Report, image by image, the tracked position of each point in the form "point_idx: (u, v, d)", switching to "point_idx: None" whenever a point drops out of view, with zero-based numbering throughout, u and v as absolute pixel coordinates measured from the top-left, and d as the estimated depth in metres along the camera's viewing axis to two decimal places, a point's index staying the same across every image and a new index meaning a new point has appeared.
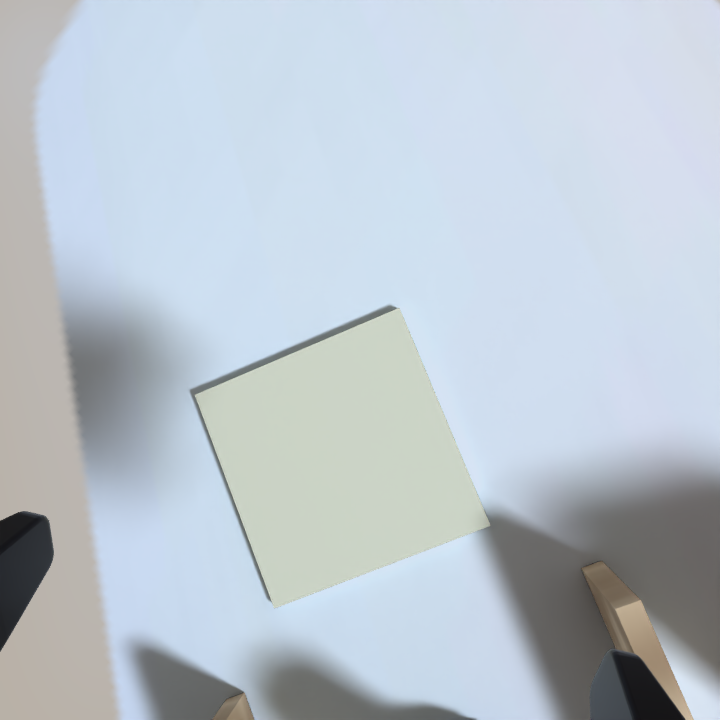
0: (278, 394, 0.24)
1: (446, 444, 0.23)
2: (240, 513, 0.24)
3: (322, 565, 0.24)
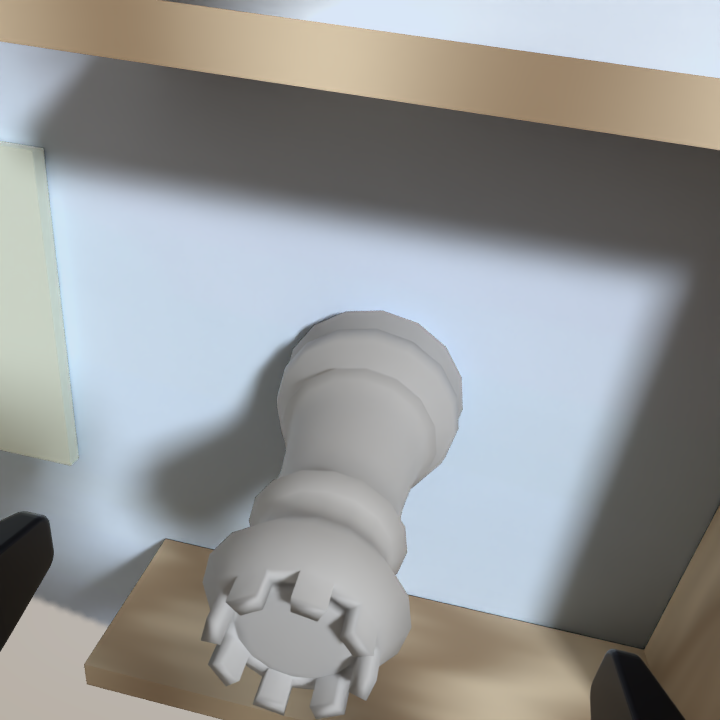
0: None
1: None
2: None
3: (33, 390, 0.17)
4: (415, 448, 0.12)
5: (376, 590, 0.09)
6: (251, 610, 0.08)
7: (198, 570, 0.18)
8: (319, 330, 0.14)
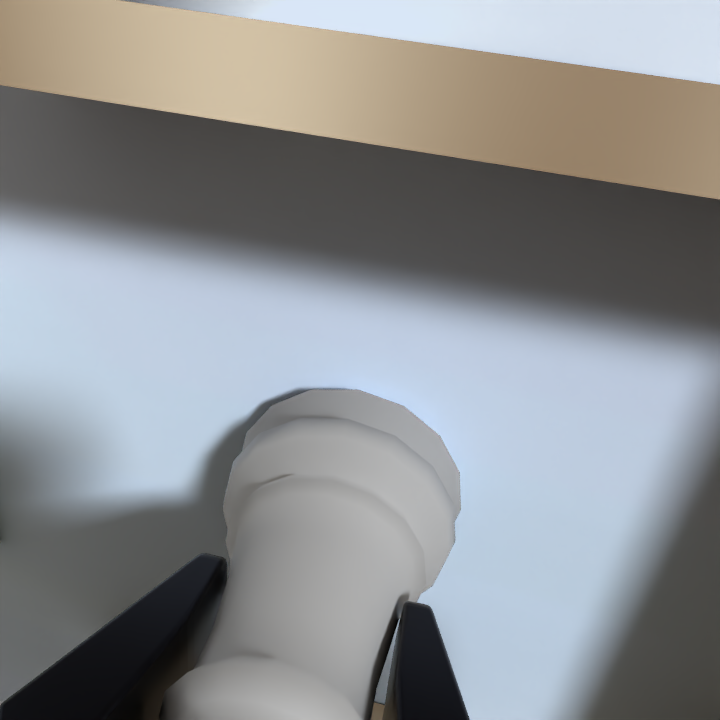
0: None
1: None
2: None
3: None
4: (396, 589, 0.09)
5: None
6: None
7: None
8: (278, 412, 0.11)
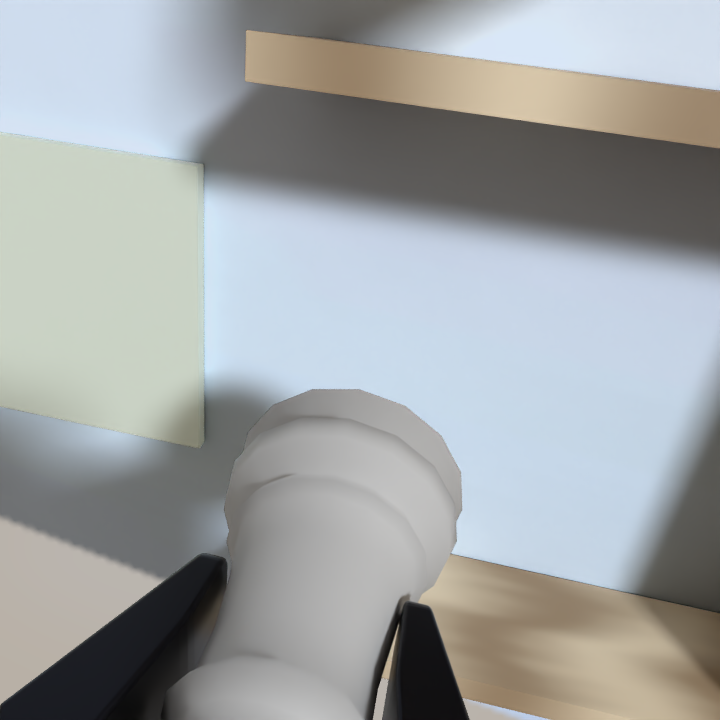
0: None
1: (76, 161, 0.16)
2: (89, 423, 0.20)
3: (172, 379, 0.19)
4: (397, 589, 0.09)
5: None
6: None
7: None
8: (279, 412, 0.11)
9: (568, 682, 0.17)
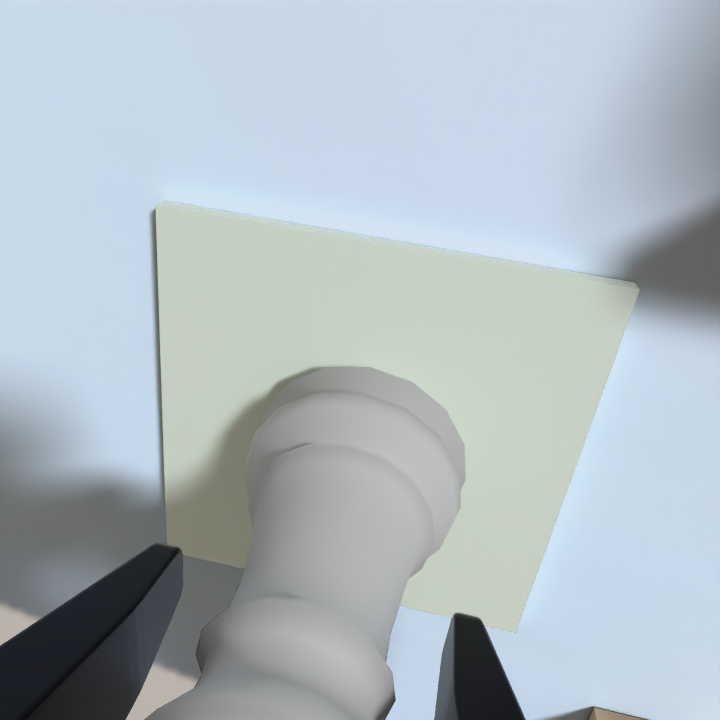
0: (217, 461, 0.14)
1: (443, 275, 0.11)
2: None
3: (502, 552, 0.14)
4: (407, 546, 0.10)
5: None
6: None
7: None
8: (295, 389, 0.12)
9: None
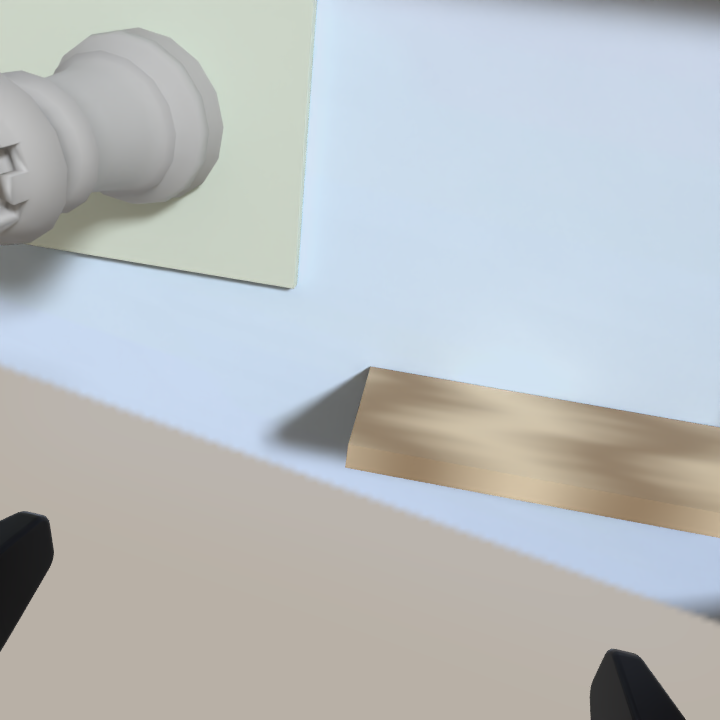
0: None
1: None
2: (175, 267, 0.19)
3: (270, 208, 0.18)
4: (141, 111, 0.14)
5: (17, 112, 0.10)
6: None
7: (412, 387, 0.20)
8: None
9: (698, 494, 0.16)
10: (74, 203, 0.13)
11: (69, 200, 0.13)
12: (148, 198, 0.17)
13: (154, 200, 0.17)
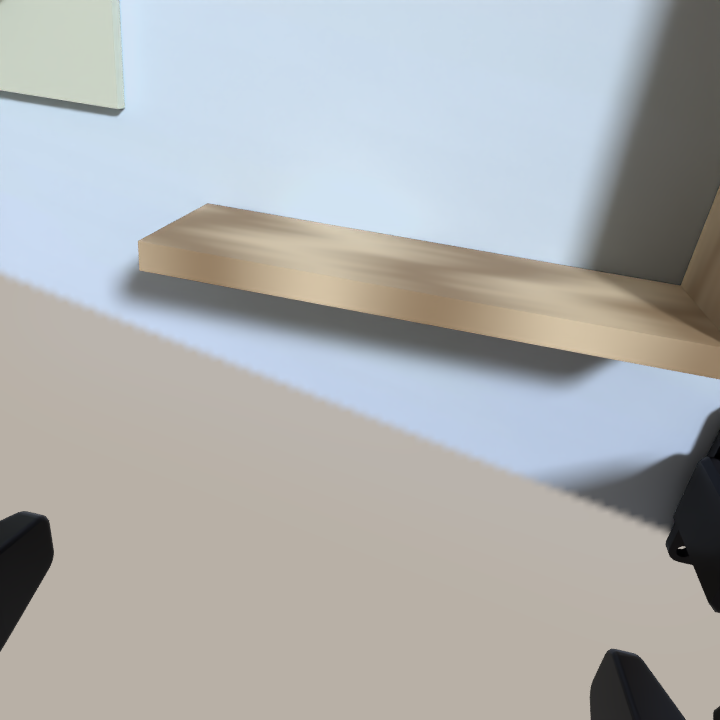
0: None
1: None
2: (0, 88, 0.19)
3: (83, 13, 0.17)
4: None
5: None
6: None
7: (241, 217, 0.19)
8: None
9: (505, 298, 0.15)
10: None
11: None
12: None
13: None
